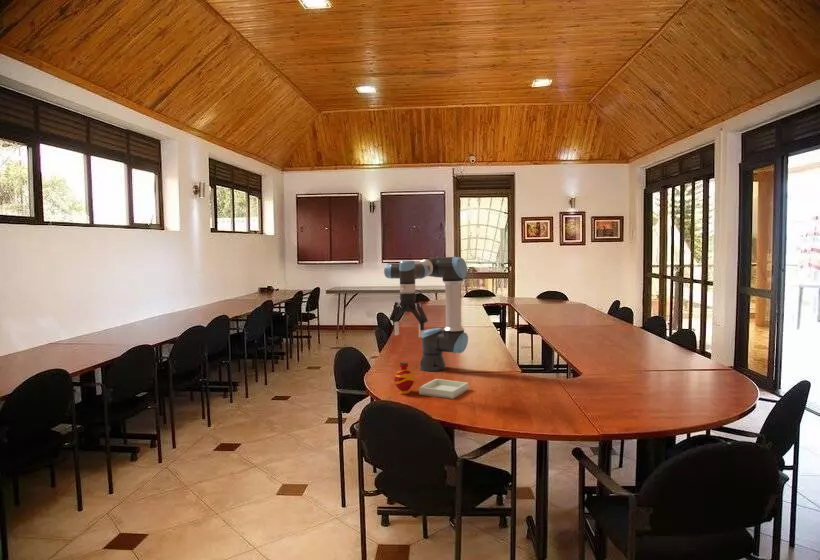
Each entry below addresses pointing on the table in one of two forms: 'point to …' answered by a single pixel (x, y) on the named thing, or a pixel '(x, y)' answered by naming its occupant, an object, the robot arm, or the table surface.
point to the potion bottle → (404, 378)
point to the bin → (443, 388)
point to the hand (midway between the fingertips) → (408, 336)
